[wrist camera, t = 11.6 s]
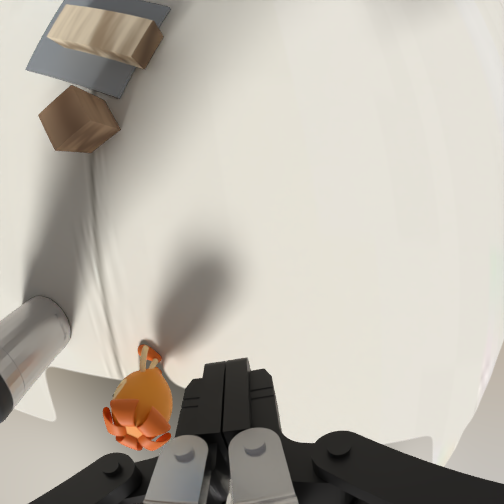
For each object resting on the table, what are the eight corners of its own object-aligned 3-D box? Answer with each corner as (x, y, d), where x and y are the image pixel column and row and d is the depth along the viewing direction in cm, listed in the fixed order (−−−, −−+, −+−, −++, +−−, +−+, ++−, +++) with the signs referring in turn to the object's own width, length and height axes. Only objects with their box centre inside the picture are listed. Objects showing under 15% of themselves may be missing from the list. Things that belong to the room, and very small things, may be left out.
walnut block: (90, 153, 36) (55, 150, 27) (75, 123, 34) (38, 115, 26) (120, 129, 35) (90, 120, 26) (104, 100, 34) (71, 84, 25)
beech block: (154, 20, 27) (65, 4, 25) (132, 57, 28) (46, 36, 26) (163, 36, 32) (81, 17, 30) (144, 69, 33) (64, 47, 31)
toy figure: (130, 326, 42) (90, 391, 27) (185, 332, 42) (164, 403, 27) (138, 391, 44) (111, 460, 30) (187, 397, 45) (173, 471, 30)
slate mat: (170, 9, 31) (169, 7, 31) (119, 98, 34) (117, 97, 34) (72, -9, 29) (70, -10, 28) (27, 70, 32) (25, 69, 31)
